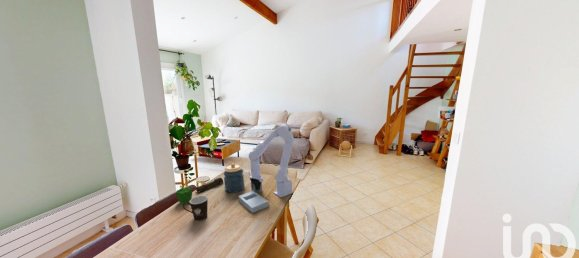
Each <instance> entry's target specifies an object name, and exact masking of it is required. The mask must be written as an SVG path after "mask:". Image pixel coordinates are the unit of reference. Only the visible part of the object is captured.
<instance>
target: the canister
mask: <svg viewBox="0 0 579 258" xmlns="http://www.w3.org/2000/svg"><path fill="white" fill-rule="evenodd" d="M223 170H224V171H223V173H222V175H224V176H223V183H224V190H225V192H227V193H239V192H241V191H243V190H244V189H245V178H244V176H245V175H244V169H243V166H241V165H239V164H235V163H234V162H232V163H231V164H230V165H228V166H225V168H224V169H223Z"/></svg>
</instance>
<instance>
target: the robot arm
mask: <svg viewBox="0 0 579 258" xmlns="http://www.w3.org/2000/svg"><path fill="white" fill-rule="evenodd" d="M279 137H280V138H281V139H283V141H284V145H283V151H282V155H281V159H280V163H279V166H278V170H277V172H276V173H275V176H274V179H275V182H276V183H275V184H276V188H275V189H276V191H273V194H275V195H276V196H277V197H280V198H283V197H286V196H288V195H290V194H293V193H294V192H293V182H292V180H291V178H289V177H288V174H289V170H288V169H289V166H288V165H289V162H290V158H291V155H292V151H293V150H292V149H293V147H294V141H295V137H294V134H293V130H292V128H291V126H290V124H288V123H286V122H285V123H281V124H280V125H279V126H278V127H276V128H275V129H274V130H273V131H271V132H270V133H269V134H268V135H267V137H266V138H265V139H264V141H260V142H259V141H258V142H257V145H256V146H255V147H253V148H252V151H249V154H248V159H249V160H250V162H249V163H250V172H249V173H248V174H249V180H250V181H251V182H253V181H254V183H255V186H256V190H260V186H261V183H262V184H263V182H264V178H263V177H262V175H261V161H260V158H261V156H262V155H263V154H264V153H265V151H266V150H267V149H268V145H269V144H271V142H272V141H273V140H274V139H275V138H279Z"/></svg>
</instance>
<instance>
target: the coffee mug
mask: <svg viewBox="0 0 579 258" xmlns="http://www.w3.org/2000/svg"><path fill="white" fill-rule="evenodd" d="M208 199H209V198H208V196H207V195H203V194H202V195H197V196H194V197H192V199H191V200H190V201H189V202H188V203H185V204H182V208H183V209H184V210H185V211H186V212H189V213H191V214H192V216H193V219H194V221H195V222H196V221H197V222H201V221H204V220H206V218H207V217H208V203H209V201H208ZM185 205H189V206H190V208H191V210H189V209H187V208H186V207H185Z"/></svg>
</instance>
